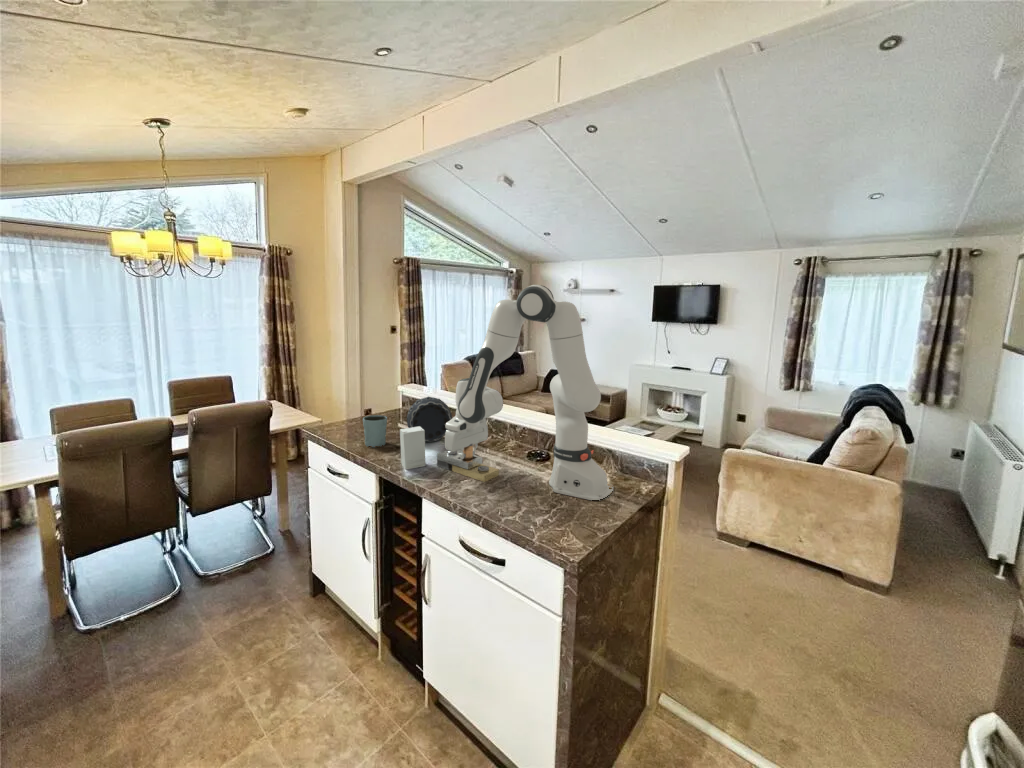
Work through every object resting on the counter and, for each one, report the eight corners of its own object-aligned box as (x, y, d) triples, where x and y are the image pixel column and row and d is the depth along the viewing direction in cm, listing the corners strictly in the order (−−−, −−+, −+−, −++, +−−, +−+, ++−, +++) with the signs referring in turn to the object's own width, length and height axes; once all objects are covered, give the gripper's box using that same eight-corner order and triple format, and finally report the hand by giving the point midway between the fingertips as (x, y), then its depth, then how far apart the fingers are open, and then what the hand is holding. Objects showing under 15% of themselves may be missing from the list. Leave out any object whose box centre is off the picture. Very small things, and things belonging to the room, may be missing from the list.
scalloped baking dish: (406, 438, 203) (405, 396, 199) (449, 435, 209) (449, 394, 205) (408, 445, 193) (407, 401, 189) (453, 442, 199) (453, 399, 195)
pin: (474, 465, 166) (475, 442, 164) (467, 468, 163) (467, 445, 161) (467, 463, 168) (467, 440, 166) (459, 465, 165) (459, 442, 163)
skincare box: (421, 461, 174) (420, 425, 171) (426, 467, 168) (425, 429, 166) (400, 465, 169) (399, 428, 167) (404, 470, 164) (403, 432, 162)
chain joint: (498, 475, 162) (499, 460, 161) (484, 482, 155) (484, 466, 154) (452, 460, 176) (451, 446, 175) (437, 466, 170) (437, 451, 168)
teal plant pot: (358, 445, 191) (357, 418, 189) (374, 439, 200) (373, 413, 198) (377, 449, 187) (376, 421, 185) (392, 442, 197) (391, 416, 194)
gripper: (479, 414, 172) (479, 448, 175) (441, 424, 156) (442, 461, 159) (492, 417, 168) (491, 451, 171) (454, 428, 152) (454, 466, 155)
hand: (467, 456), depth 165 cm, fingers closed on pin, 4 cm apart
